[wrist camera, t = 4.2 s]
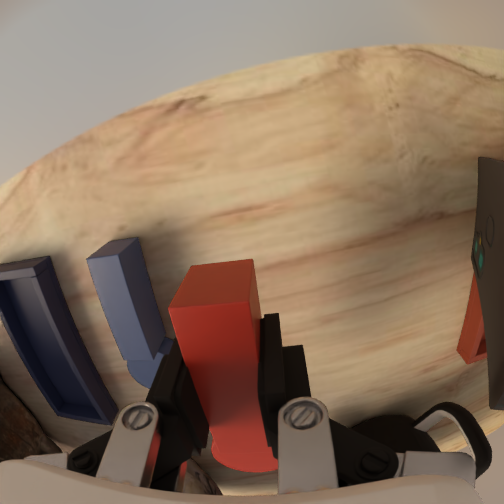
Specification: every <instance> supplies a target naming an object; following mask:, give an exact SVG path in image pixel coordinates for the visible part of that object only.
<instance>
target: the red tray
mask: <svg viewBox="0 0 504 504" xmlns="http://www.w3.org/2000/svg"><path fill="white" fill-rule="evenodd" d="M503 162H504V161H503ZM457 352H458V353H459V354H460V355H461V357H462V358H463V359H464V361H465V362H466V364H471V363H473V362H476V361H479V360H482V359H484V358H487V349H486V339H485V331H484V323H483V316H482V310H481V304H480V298H479V293H478V287H477V283H476V278H475V273H474V275H473V281H472V286H471V292H470V297H469V302H468V307H467V311H466V316H465V320H464V324H463V328H462V332H461V336H460V339H459V343H458V347H457Z"/></svg>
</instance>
